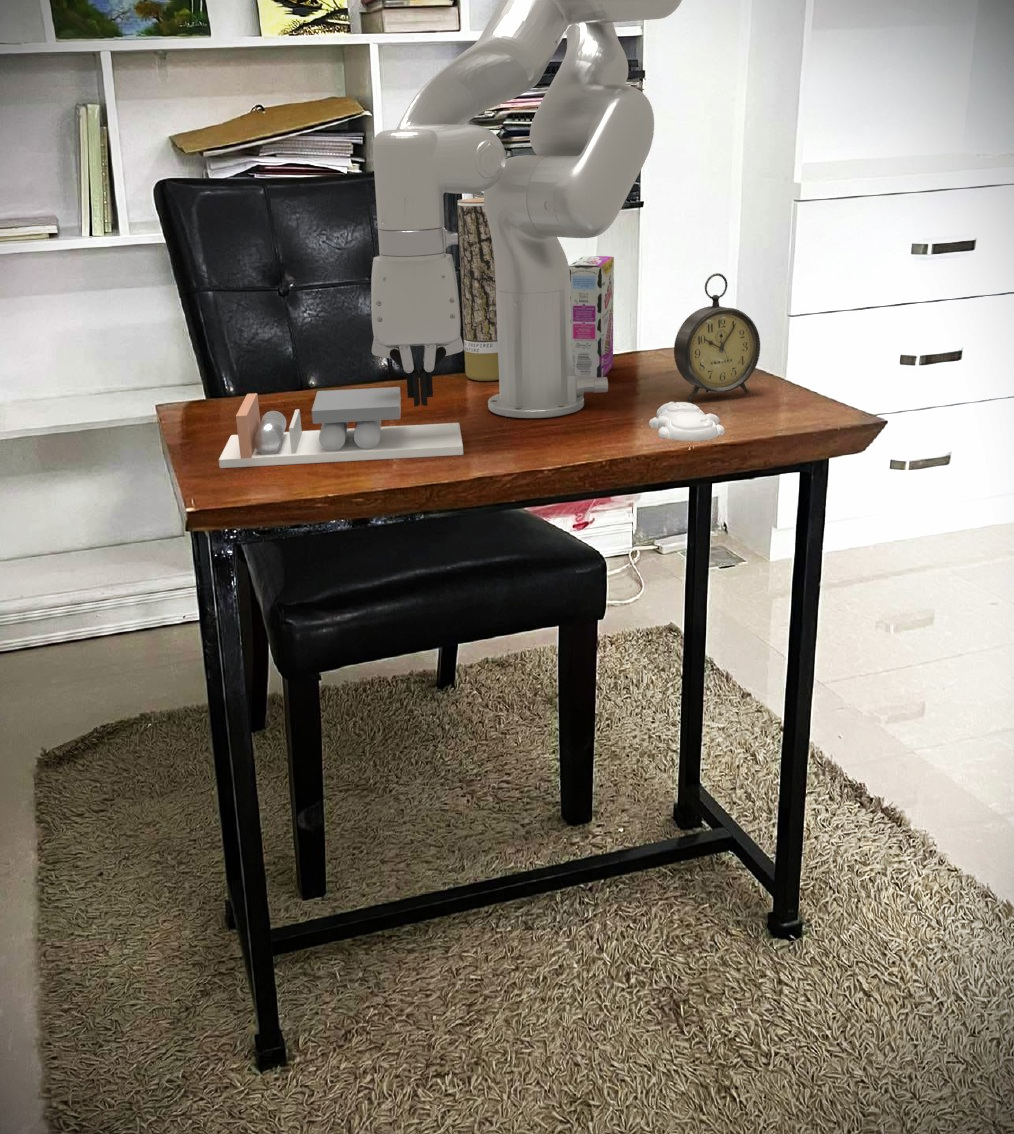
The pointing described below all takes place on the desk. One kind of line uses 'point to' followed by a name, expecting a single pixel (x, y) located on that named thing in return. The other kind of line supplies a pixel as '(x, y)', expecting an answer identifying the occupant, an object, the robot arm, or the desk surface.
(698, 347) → the alarm clock
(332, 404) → the slab
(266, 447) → the roller
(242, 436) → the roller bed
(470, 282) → the paper tube
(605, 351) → the candy bar box
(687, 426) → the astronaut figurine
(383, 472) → the desk surface
